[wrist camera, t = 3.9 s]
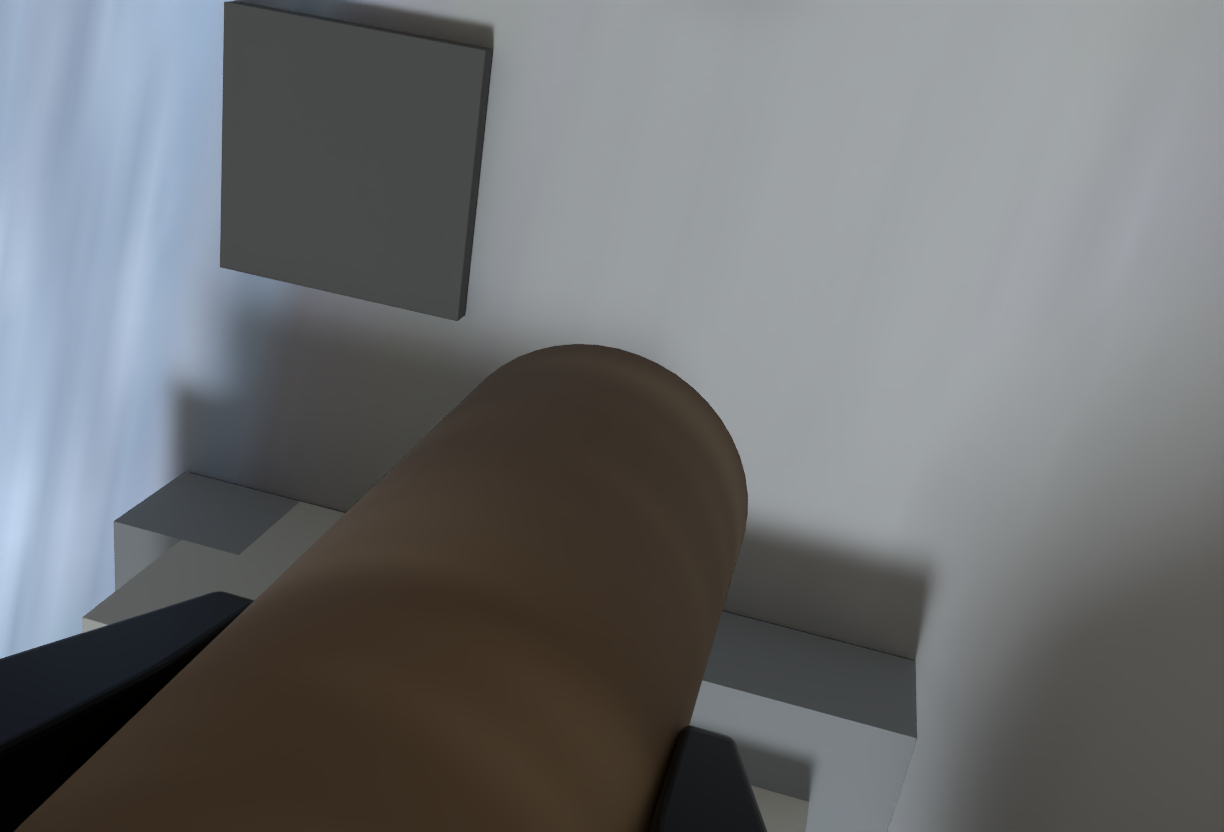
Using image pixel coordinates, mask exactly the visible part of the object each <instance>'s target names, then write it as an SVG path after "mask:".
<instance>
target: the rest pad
mask: <svg viewBox="0 0 1224 832" xmlns="http://www.w3.org/2000/svg"><path fill="white" fill-rule="evenodd" d="M492 53H493V49H489V48H484V47H478V46H473V45H468V44H462V43H457V42H451V41H446V40H441V39H435V38H430V37H425V36H419V35H414V34H409V33H403V32H398V31H392V30H387V29H382V28H376V27H371V26H366V25H360V24H355V23H350V22H344V21H339V20H334V19H328V18H323V17H317V16H312V15H307V14H301V13H296V12H291V11H285V10H280V9H275V8H269V7H264V6H258V5H253V4H248V3H242V2H237V1H232V2H224V54H223V117H222V179H221V242H220V267H222V268H226V269H231V270H235V271H239V272H244V273H248V274H253V275H257V276H261V277H266V278H270V279H275V280H279V281H283V282H288V283H292V284H297V285H301V286H305V287H310V288H314V289H319V290H323V291H327V292H332V293H336V294H341V295H345V296H349V297H354V298H358V299H363V300H367V301H371V302H376V303H380V304H385V305H389V306H393V307H398V308H402V309H407V310H411V311H415V312H420V313H424V314H429V315H433V316H437V317H442V318H446V319H451V320H455V321H458V320H459V319H461V318H462V317H463V316H465V308H466V299H467V289H468V280H469V271H470V261H471V252H472V242H473V233H474V223H475V214H476V204H477V195H478V185H479V176H480V167H481V157H482V148H483V138H484V129H485V119H486V110H487V100H488V91H489V81H490V72H491V63H492Z"/></svg>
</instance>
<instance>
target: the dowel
mask: <svg viewBox="0 0 1224 832" xmlns="http://www.w3.org/2000/svg"><path fill="white" fill-rule="evenodd" d="M747 514H748V493H747V486H746V478H745V473H744V470H743V466H742V462H741V459H740V456H739V453H738V451H737V448H736V446H735V444H734V441H733V439H732V437H731V435H730V434H729V432H728V430H727V429H726V427H725V425H724V423H723V422H722V420H721V419H720V417H719V416H718V415H717V414H716V412H715V411H714V410H713V408H712V407H711V406H710V405H709V403H708V402H707V401H706V400H705V399H704V398H703V397H702V396H701V395H700V394H699V393H698V392H697V391H696V390H695V389H694V388H693V387H691V386H690V385H689V384H688V383H686V382H685V381H684V380H682V379H681V378H680V377H679V376H677V375H676V374H674V373H673V372H671V371H669V370H668V369H666V368H664V367H663V366H661V365H659V364H658V363H655V362H653V361H651V360H649V359H646V358H644V357H642V356H640V355H637V354H634V353H630V352H627V351H624V350H620V349H617V348H611V347H605V346H599V345H585V344H572V345H561V346H553V347H549V348H544V349H540V350H536V351H533V352H531V353H528V354H525V355H523V356H520V357H518V358H516V359H514V360H512V361H510V362H509V363H507V364H505V365H503V366H501V367H500V368H499V369H497V370H496V371H495V372H494V373H492V374H491V375H490V376H488V377H487V378H486V379H485V380H484V381H483V382H482V383H481V384H480V385H479V386H478V387H476V388H475V389H474V390H473V391H472V392H471V393H470V394H469V395H468V396H467V397H466V398H465V399H464V400H463V401H462V402H461V403H460V404H459V405H458V406H457V407H456V408H455V409H454V410H452V411H451V412H450V413H449V414H448V415H447V416H446V417H445V418H444V419H443V420H442V421H441V422H440V423H439V424H438V425H437V426H436V427H435V428H434V429H433V430H432V431H431V432H430V433H429V434H427V435H426V436H425V437H424V438H423V439H422V440H421V441H420V442H419V443H418V444H417V445H416V446H415V447H414V448H413V449H412V450H411V451H410V452H409V453H408V454H407V455H406V456H405V457H403V458H402V459H401V460H400V461H399V462H398V463H397V464H396V465H395V466H394V467H393V468H392V469H391V470H390V471H389V472H388V473H387V474H386V475H385V476H384V477H383V478H382V479H381V480H380V481H378V482H377V483H376V484H375V485H374V486H373V487H372V488H371V489H370V490H369V491H368V492H367V493H366V494H365V495H364V496H363V497H362V498H361V499H360V500H359V501H358V502H357V503H356V504H354V505H353V506H352V507H351V508H350V509H349V510H348V511H347V512H346V513H345V514H344V515H343V516H342V517H341V518H340V519H339V520H338V521H337V522H336V523H335V524H334V525H333V526H332V527H331V528H329V529H328V530H327V531H326V532H325V533H324V534H323V535H322V536H321V537H320V538H319V539H318V540H317V541H316V542H315V543H314V544H313V545H312V546H311V547H310V548H309V549H308V550H307V551H305V552H304V553H303V554H302V555H301V556H300V557H299V558H298V559H297V560H296V561H295V562H294V563H293V564H292V565H291V566H290V567H289V568H288V569H287V570H286V571H285V572H284V573H283V574H282V575H280V576H279V577H278V578H277V579H276V580H275V581H274V582H273V583H272V584H271V585H270V586H269V587H268V588H267V589H266V590H265V591H264V592H263V593H262V594H261V595H260V596H259V597H258V598H256V599H255V600H254V601H253V602H252V603H251V604H250V605H249V606H248V607H247V608H246V609H245V610H244V611H243V612H242V613H241V614H240V615H239V616H238V617H237V618H236V619H235V620H234V621H233V622H231V623H230V624H229V625H228V626H227V627H226V628H225V629H224V630H223V631H222V632H221V633H220V634H219V635H218V636H217V637H216V638H215V639H214V640H213V641H212V642H211V643H210V644H209V645H208V646H206V647H205V648H204V649H203V650H202V651H201V652H200V653H199V654H198V655H197V656H196V657H195V658H194V659H193V660H192V661H191V662H190V663H189V664H188V665H187V666H186V667H185V668H184V669H182V670H181V671H180V672H179V673H178V674H177V675H176V676H175V677H174V678H173V679H172V680H171V681H170V682H169V683H168V684H167V685H166V686H165V687H164V688H163V689H162V690H161V691H160V692H159V693H157V694H156V695H155V696H154V697H153V698H152V699H151V700H150V701H149V702H148V703H147V704H146V705H145V706H144V707H143V708H142V709H141V710H140V711H139V712H138V713H137V714H136V715H135V716H133V717H132V718H131V719H130V720H129V721H128V722H127V723H126V724H125V725H124V726H123V727H122V728H121V729H120V730H119V731H118V732H117V733H116V734H115V735H114V736H113V737H112V738H111V739H110V740H108V741H107V742H106V743H105V744H104V745H103V746H102V747H101V748H100V749H99V750H98V751H97V752H96V753H95V754H94V755H93V756H92V757H91V758H90V759H89V760H88V761H87V762H86V763H84V764H83V765H82V766H81V767H80V768H79V769H78V770H77V771H76V772H75V773H74V774H73V775H72V776H71V777H70V778H69V779H68V780H67V781H66V782H65V783H64V784H63V785H62V786H61V787H59V788H58V789H57V790H56V791H55V792H54V793H53V794H52V795H51V796H50V797H49V798H48V799H47V800H46V801H45V802H44V803H43V804H42V805H41V806H40V807H39V808H38V809H37V810H35V811H34V812H33V813H32V814H31V815H30V816H29V817H28V818H27V819H26V820H25V821H24V822H23V823H22V824H21V825H20V826H19V827H18V828H17V829H16V830H15V831H14V832H650V829H651V825H652V821H653V817H654V813H655V809H656V806H657V803H658V799H659V796H660V793H661V790H662V787H663V784H664V781H665V777H666V774H667V771H668V768H669V765H670V762H671V759H672V755H673V752H674V749H675V746H676V743H677V740H678V737H679V734H680V731H681V730H682V729H683V728H684V727H685V726H688V725H690V722H691V718H692V715H693V711H694V708H695V704H696V701H697V697H698V694H699V690H700V687H701V683H702V680H703V676H704V673H705V669H706V666H707V662H708V659H709V655H710V652H711V648H712V645H713V641H714V638H715V634H716V631H717V627H718V624H719V620H720V617H721V613H722V610H723V606H724V603H725V599H726V596H727V592H728V589H729V585H730V582H731V578H732V575H733V571H734V568H735V564H736V561H737V557H738V554H739V550H740V547H741V543H742V540H743V536H744V533H745V527H746V521H747Z"/></svg>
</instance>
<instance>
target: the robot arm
mask: <svg viewBox="0 0 1224 832" xmlns="http://www.w3.org/2000/svg"><path fill="white" fill-rule="evenodd" d="M253 601H254V600H252V599H248V598H245V597H242V596H238V595H235V594H231V593H228V592H223V591H216V592H212V593H208V594H205V595H202V596H199V597H195V598H192V599H189V600H186V601H183V602H180V603H176V604H173V605H170V606H167V607H164V608H161V609H157V610H154V611H151V612H148V613H145V614H141V615H138V616H135V617H132V618H129V619H126V620H122V621H119V622H116V623H113V624H110V625H107V626H103V627H100V628H97V629H94V630H91V631H87V632H84V633H81V634H78V635H75V636H72V637H68V638H65V639H62V640H59V641H56V642H52V643H49V644H46V645H43V646H40V647H36V648H33V649H30V650H27V651H24V652H21V653H17V654H14V655H11V656H8V657H5V658H1V659H0V832H14V831H15V830H16V829H17V828H18V827H19V826H20V825H21V824H22V823H23V822H24V821H25V820H26V819H27V818H28V817H29V816H30V815H31V814H32V813H33V812H34V811H35V810H37V809H38V808H39V807H40V806H41V805H42V804H43V803H44V802H45V801H46V800H47V799H48V798H49V797H50V796H51V795H52V794H53V793H54V792H55V791H56V790H57V789H58V788H59V787H61V786H62V785H63V784H64V783H65V782H66V781H67V780H68V779H69V778H70V777H71V776H72V775H73V774H74V773H75V772H76V771H77V770H78V769H79V768H80V767H81V766H82V765H83V764H84V763H86V762H87V761H88V760H89V759H90V758H91V757H92V756H93V755H94V754H95V753H96V752H97V751H98V750H99V749H100V748H101V747H102V746H103V745H104V744H105V743H106V742H107V741H108V740H110V739H111V738H112V737H113V736H114V735H115V734H116V733H117V732H118V731H119V730H120V729H121V728H122V727H123V726H124V725H125V724H126V723H127V722H128V721H129V720H130V719H131V718H132V717H133V716H135V715H136V714H137V713H138V712H139V711H140V710H141V709H142V708H143V707H144V706H145V705H146V704H147V703H148V702H149V701H150V700H151V699H152V698H153V697H154V696H155V695H156V694H157V693H159V692H160V691H161V690H162V689H163V688H164V687H165V686H166V685H167V684H168V683H169V682H170V681H171V680H172V679H173V678H174V677H175V676H176V675H177V674H178V673H179V672H180V671H181V670H182V669H184V668H185V667H186V666H187V665H188V664H189V663H190V662H191V661H192V660H193V659H194V658H195V657H196V656H197V655H198V654H199V653H200V652H201V651H202V650H203V649H204V648H205V647H206V646H208V645H209V644H210V643H211V642H212V641H213V640H214V639H215V638H216V637H217V636H218V635H219V634H220V633H221V632H222V631H223V630H224V629H225V628H226V627H227V626H228V625H229V624H230V623H231V622H233V621H234V620H235V619H236V618H237V617H238V616H239V615H240V614H241V613H242V612H243V611H244V610H245V609H246V608H247V607H248V606H249V605H250V604H251V603H252V602H253ZM650 832H767V829H766V826H765V824H764V821H763V818H762V815H761V812H760V809H759V807H758V804H757V801H756V798H755V795H754V792H753V790H752V787H751V784H750V781H749V778H748V775H747V773H746V770H745V767H744V764H743V761H742V758H741V756H740V753H739V750H738V747H737V745H736V743H735V741H734V740H733V739H732V738H731V737H729V736H727V735H723V734H720V733H716V732H713V731H709V730H706V729H702V728H699V727H695V726H691V725H688V726H685V727H684V728H683V729H682V730H681V731H680V734H679V737H678V740H677V743H676V746H675V749H674V752H673V755H672V759H671V762H670V765H669V768H668V771H667V774H666V777H665V781H664V784H663V787H662V790H661V793H660V796H659V799H658V803H657V806H656V809H655V813H654V817H653V821H652V825H651V829H650Z"/></svg>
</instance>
